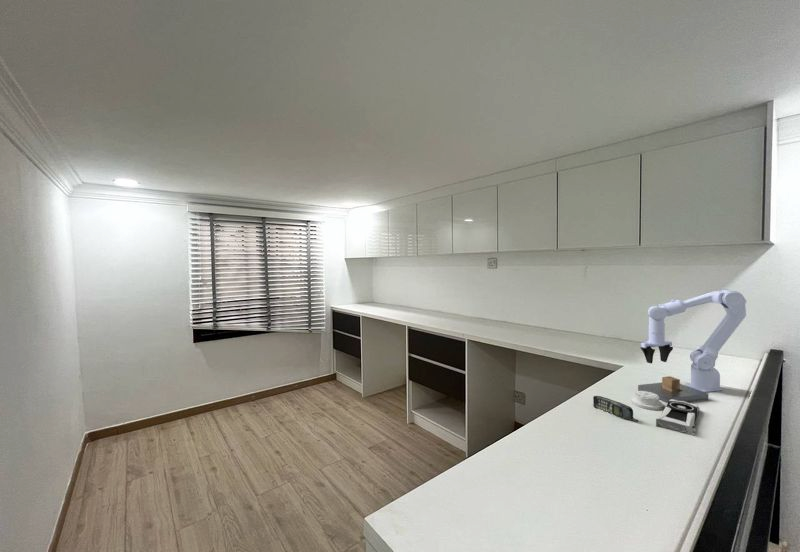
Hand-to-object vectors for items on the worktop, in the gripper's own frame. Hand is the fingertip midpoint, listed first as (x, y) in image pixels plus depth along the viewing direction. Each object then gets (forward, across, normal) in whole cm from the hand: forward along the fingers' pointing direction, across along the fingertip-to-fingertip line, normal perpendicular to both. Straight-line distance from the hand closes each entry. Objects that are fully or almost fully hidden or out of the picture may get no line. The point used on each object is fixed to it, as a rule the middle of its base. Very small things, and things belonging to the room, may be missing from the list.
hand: (656, 362), depth 148 cm
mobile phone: (+10, +43, +22) cm, 49 cm away
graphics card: (+10, +24, +30) cm, 40 cm away
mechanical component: (+10, +24, +18) cm, 32 cm away
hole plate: (+9, +7, +13) cm, 18 cm away
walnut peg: (+10, +7, +13) cm, 17 cm away
